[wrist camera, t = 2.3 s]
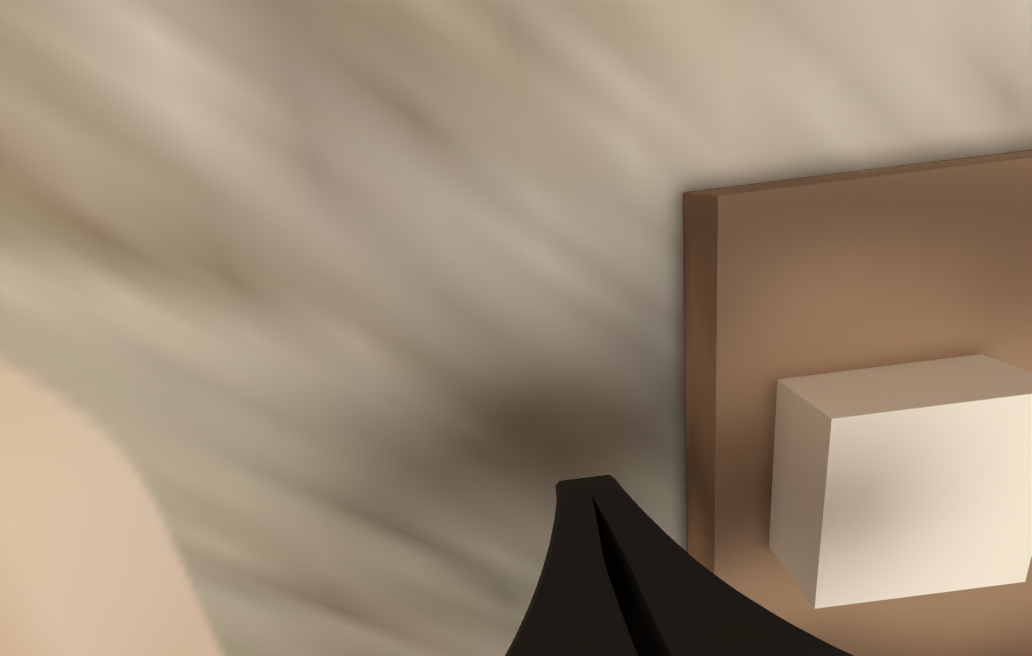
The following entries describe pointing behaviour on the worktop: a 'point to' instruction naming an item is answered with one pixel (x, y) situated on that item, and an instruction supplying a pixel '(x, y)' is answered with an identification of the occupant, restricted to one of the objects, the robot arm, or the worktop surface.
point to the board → (846, 358)
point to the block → (903, 479)
